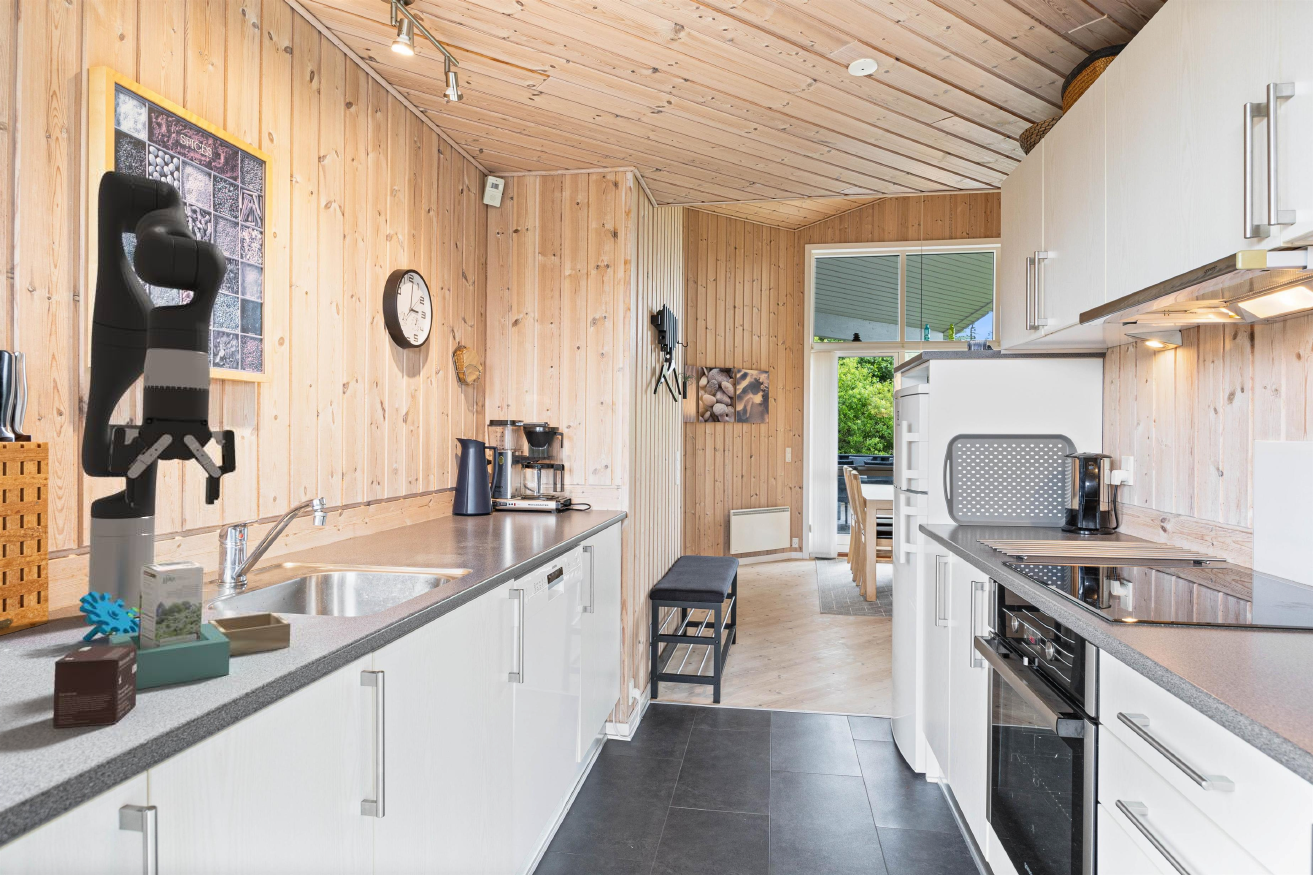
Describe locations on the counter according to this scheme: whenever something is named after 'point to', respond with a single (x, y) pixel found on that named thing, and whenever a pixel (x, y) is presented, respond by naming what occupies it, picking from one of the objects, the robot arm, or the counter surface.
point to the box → (95, 686)
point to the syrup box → (170, 604)
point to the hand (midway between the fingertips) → (173, 505)
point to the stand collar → (254, 632)
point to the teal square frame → (179, 658)
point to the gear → (107, 615)
